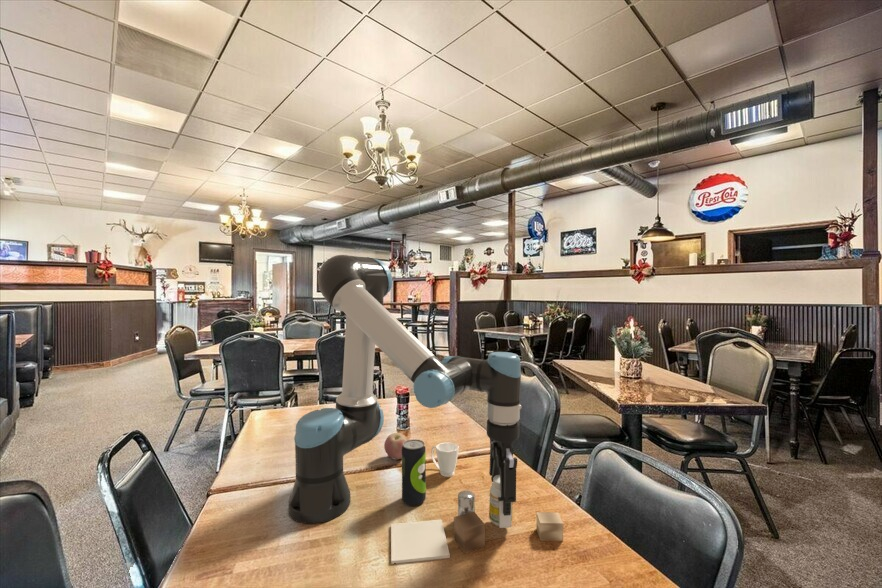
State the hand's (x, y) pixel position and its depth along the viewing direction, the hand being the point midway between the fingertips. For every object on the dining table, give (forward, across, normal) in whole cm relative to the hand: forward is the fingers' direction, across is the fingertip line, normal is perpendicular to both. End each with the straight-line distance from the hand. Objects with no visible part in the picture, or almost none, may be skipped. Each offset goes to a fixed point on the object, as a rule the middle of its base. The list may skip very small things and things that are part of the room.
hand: (501, 517), depth 87 cm
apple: (+3, +39, +24) cm, 45 cm away
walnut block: (+2, -4, +8) cm, 10 cm away
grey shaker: (+2, +4, +8) cm, 9 cm away
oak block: (+2, -4, -10) cm, 11 cm away
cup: (+3, +28, +10) cm, 29 cm away
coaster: (+2, -2, +20) cm, 20 cm away
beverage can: (+3, +14, +20) cm, 24 cm away
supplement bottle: (+1, 0, 0) cm, 1 cm away
